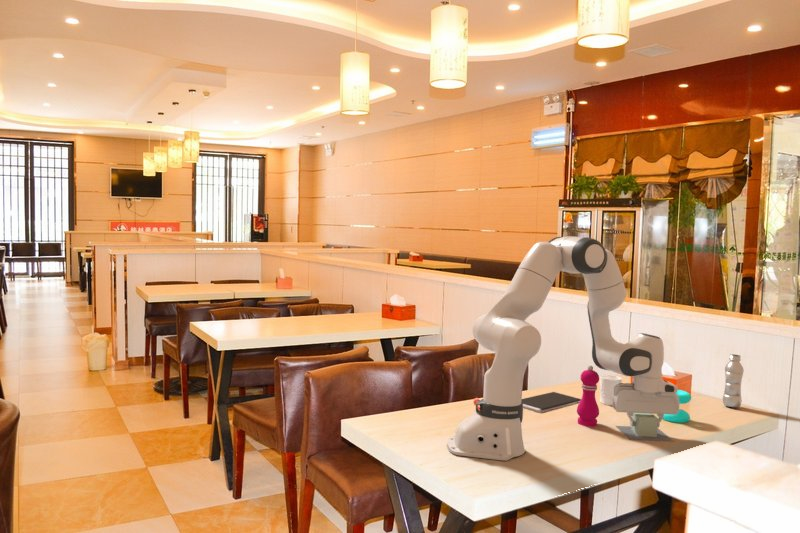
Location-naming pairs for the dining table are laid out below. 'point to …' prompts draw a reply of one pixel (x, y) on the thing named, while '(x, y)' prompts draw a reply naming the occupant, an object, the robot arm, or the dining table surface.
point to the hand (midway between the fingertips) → (644, 426)
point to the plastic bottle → (733, 382)
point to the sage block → (645, 424)
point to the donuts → (681, 415)
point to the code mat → (632, 436)
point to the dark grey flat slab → (548, 402)
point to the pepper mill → (588, 399)
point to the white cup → (608, 388)
